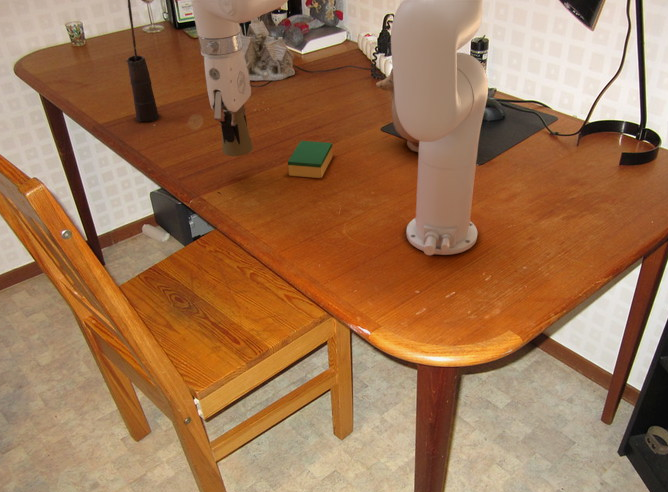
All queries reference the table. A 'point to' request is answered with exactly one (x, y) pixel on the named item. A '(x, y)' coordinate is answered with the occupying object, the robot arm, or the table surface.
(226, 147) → the pawn
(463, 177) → the robot arm
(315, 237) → the table surface
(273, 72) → the ceramic cottage
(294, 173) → the sponge
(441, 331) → the table surface
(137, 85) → the butter churn
